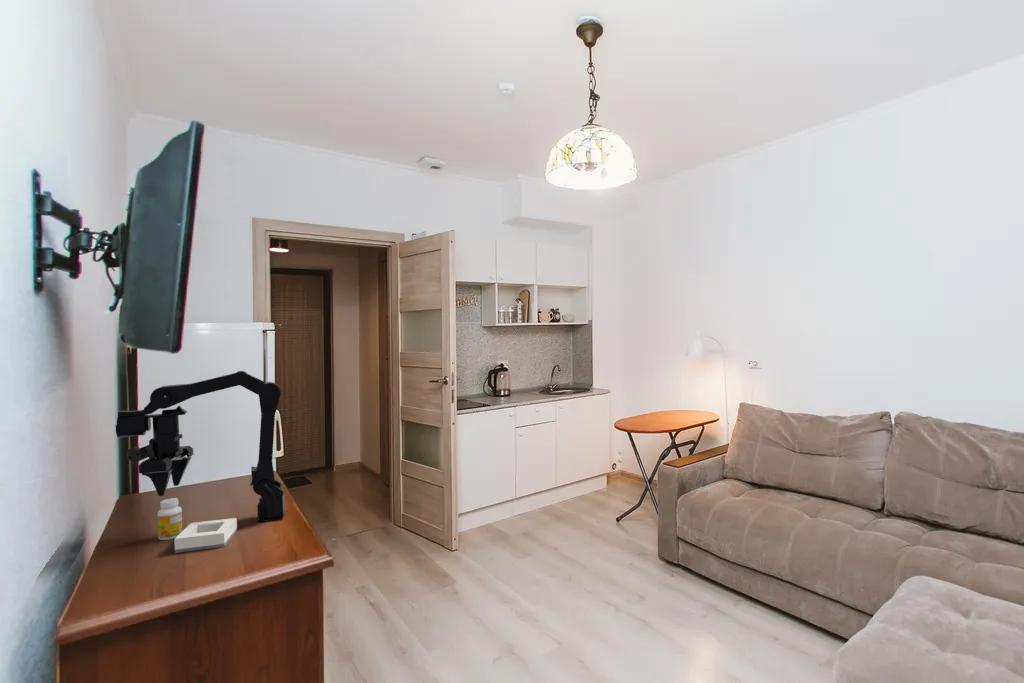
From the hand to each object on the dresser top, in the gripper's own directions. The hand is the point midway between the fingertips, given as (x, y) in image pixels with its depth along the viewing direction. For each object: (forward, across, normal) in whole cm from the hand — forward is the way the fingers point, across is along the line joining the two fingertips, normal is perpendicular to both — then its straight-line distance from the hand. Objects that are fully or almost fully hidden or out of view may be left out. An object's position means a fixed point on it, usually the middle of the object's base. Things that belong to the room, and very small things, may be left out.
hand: (169, 490), depth 132 cm
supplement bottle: (+12, 0, 0) cm, 13 cm away
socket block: (+12, +7, +11) cm, 18 cm away
